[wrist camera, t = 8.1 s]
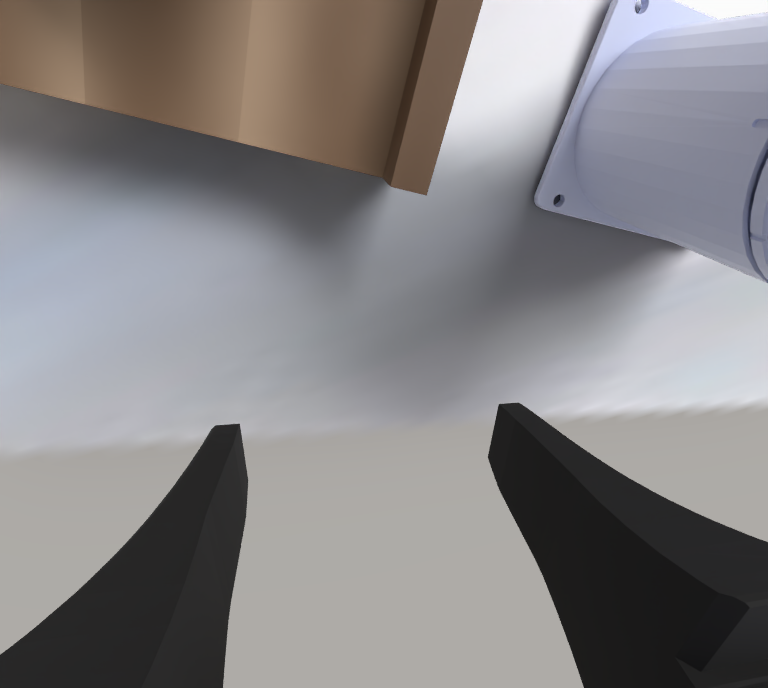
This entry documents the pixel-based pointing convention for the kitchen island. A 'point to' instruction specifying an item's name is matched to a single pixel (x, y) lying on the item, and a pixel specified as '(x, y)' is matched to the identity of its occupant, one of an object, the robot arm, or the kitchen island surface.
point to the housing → (259, 71)
